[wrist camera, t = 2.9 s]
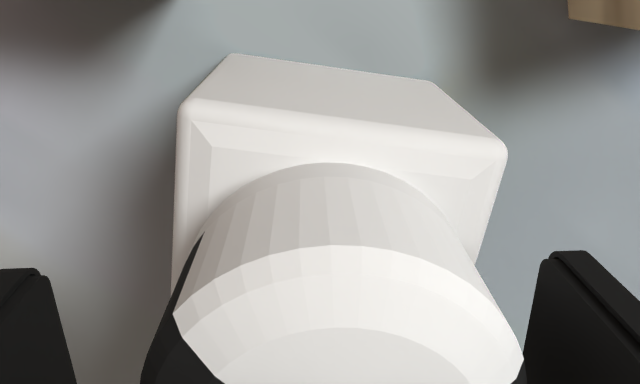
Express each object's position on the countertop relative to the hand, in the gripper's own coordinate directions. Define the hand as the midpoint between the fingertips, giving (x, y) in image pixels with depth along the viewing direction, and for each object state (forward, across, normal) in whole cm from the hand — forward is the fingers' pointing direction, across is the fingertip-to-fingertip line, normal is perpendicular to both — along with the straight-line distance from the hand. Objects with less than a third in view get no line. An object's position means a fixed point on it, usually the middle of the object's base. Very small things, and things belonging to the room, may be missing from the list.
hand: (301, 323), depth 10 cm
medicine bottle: (+9, -1, 0) cm, 9 cm away
